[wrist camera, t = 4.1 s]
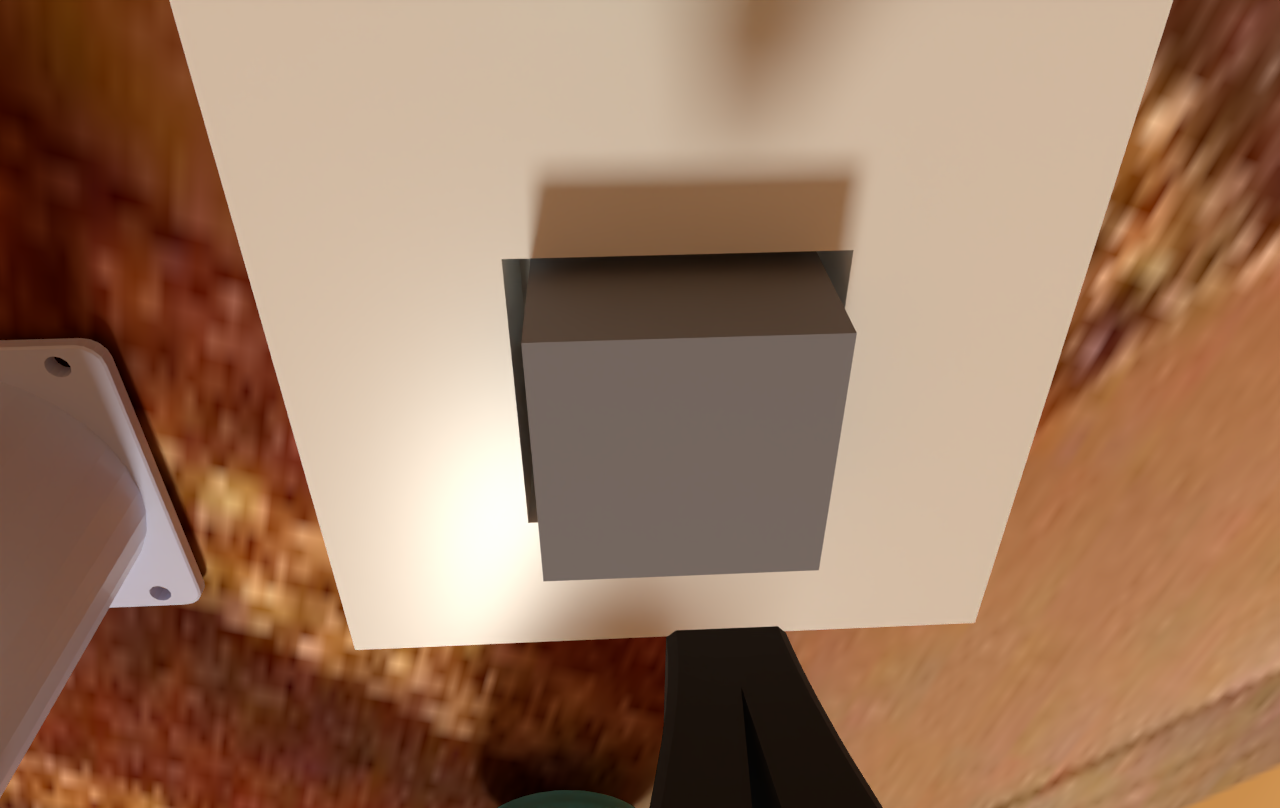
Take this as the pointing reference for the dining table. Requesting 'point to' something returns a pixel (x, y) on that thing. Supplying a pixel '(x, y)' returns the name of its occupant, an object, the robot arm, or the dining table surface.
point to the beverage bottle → (567, 800)
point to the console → (660, 225)
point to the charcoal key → (683, 412)
